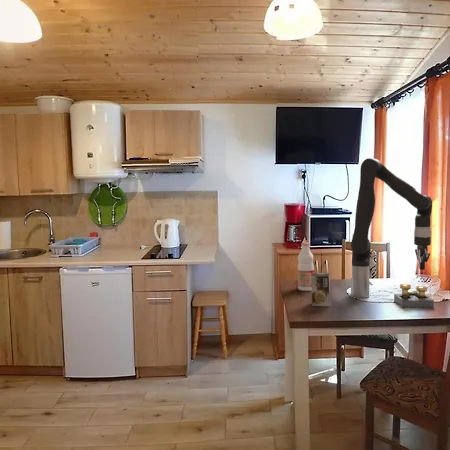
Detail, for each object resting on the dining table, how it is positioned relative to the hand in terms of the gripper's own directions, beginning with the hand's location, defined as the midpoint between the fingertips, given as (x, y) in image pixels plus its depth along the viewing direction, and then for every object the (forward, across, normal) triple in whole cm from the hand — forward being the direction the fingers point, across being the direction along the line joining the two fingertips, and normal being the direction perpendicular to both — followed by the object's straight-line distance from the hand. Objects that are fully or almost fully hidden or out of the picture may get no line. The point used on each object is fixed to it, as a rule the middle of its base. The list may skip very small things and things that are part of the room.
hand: (422, 269), depth 204 cm
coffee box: (+18, -2, -50) cm, 53 cm away
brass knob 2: (+16, 0, 0) cm, 16 cm away
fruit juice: (+18, -32, -54) cm, 65 cm away
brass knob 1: (+15, 0, -8) cm, 17 cm away
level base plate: (+18, 0, -4) cm, 19 cm away
